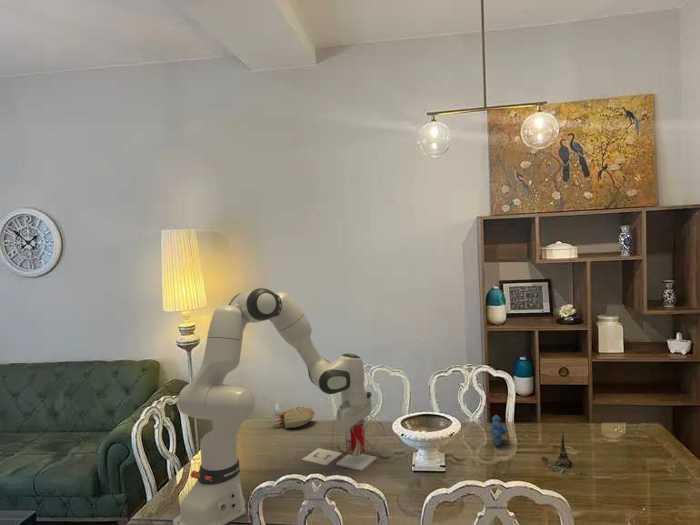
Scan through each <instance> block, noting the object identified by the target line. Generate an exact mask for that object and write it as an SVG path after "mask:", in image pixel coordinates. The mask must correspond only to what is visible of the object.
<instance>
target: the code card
mask: <svg viewBox="0 0 700 525" xmlns="http://www.w3.org/2000/svg"><path fill="white" fill-rule="evenodd" d="M342 454H343V453H342V452H339V451H336V450H335V451H333V450H331V449H330V450H329V449H324V448H320V447H318V448H316V449H315V450H313V451H312V452H310V453H309V454H307V455H306V456H304V457H303V458H302V459H301V461H304V462H305V461H306V462H309V463H314V464H319V465H322V466H328V465H329V464H330V463H332V462H333V461H335V460H336V459H337V458H339V457H340V456H341V455H342Z"/></svg>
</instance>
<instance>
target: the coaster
mask: <svg viewBox="0 0 700 525" xmlns="http://www.w3.org/2000/svg"><path fill="white" fill-rule="evenodd" d="M377 458H378V456H373V455H369V454H364V453H363V454H362V455H360V456H351V455H350V454H348V453H347V455H345V456H344V457H343V458H341V459H340V460H338V461H337V462H336V463H335V465H336V466H340V467H343V468H349V469H353V470H357V471H364V470H365V469H366V468H368V466H370V465H371V464H372V463H374V461H376V460H377Z"/></svg>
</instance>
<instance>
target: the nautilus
mask: <svg viewBox="0 0 700 525" xmlns="http://www.w3.org/2000/svg"><path fill="white" fill-rule="evenodd" d="M315 415H316V412H315V411H314V410H313V408H310V407H305V406H304V407H303V406H302V407H294V408H292V409H289V410H287V411H284V412H278V413H273V414H271V416H273V417H275V419H277V418H278V420H275V421H274V423H276V424H272V425H270V427H272V429H273V428H279V427H282V428H285V429H288V428H289V429H291V428H293V429H294V428H298V427H302V426H304V425H306V424H308V423H309V422H310V421H312V420H313V418H314V416H315ZM268 420H272V417H269V418H268ZM267 423H269V424H271V423H273V421H271V422H269V421H268V422H267Z"/></svg>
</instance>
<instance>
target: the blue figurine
mask: <svg viewBox="0 0 700 525" xmlns="http://www.w3.org/2000/svg"><path fill="white" fill-rule="evenodd" d="M491 421H492V423H491V426H492V427H491V428H490V429H489V430H490V432H491V434H492V435H493V436H492V442H493V444H494V445H495V446H500V445H501V443H502V437H503V435H506V434H507V433H508V432H509V430H508V428H507V427H506V426H503V424H502V423H501V421H502V419H501V417H500V416H499V415H497V414H495V415H493V416H492V418H491Z"/></svg>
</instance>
